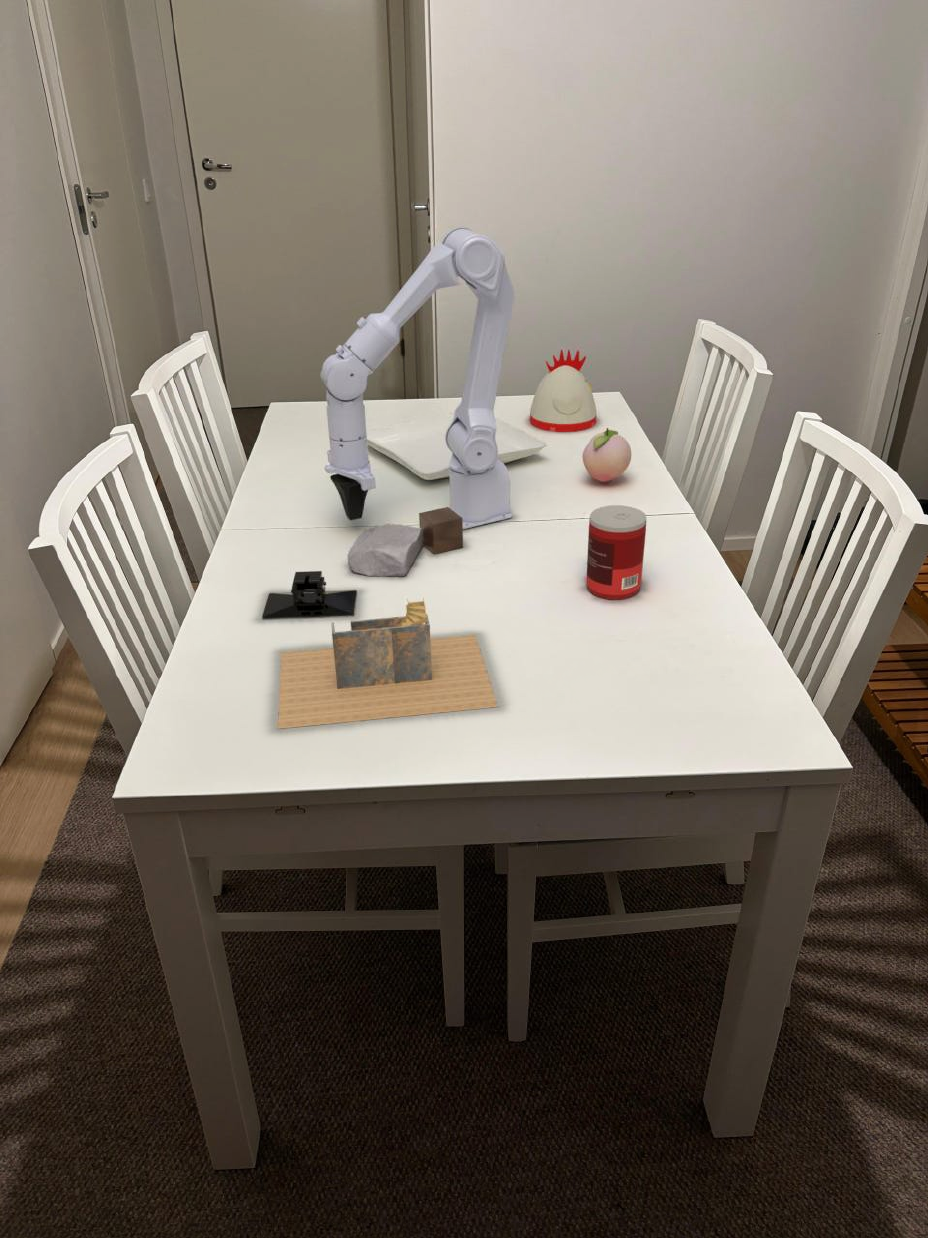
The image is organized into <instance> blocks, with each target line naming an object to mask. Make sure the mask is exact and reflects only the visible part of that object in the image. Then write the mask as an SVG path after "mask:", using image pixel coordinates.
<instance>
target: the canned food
mask: <svg viewBox="0 0 928 1238" xmlns="http://www.w3.org/2000/svg"><path fill="white" fill-rule="evenodd" d="M588 519H589V522H588V540H587V559H586V577H585V579H586V580H585V584H586V586H587V589H588V591H589V592H590V593H591V594H592V595H594V596H596V597H598V598H601V599H605V600H625V599H628V598H630V597H633V596H634V595H636V594H637V593H638V592H639V590H640V588H641V586H642V578H643V577H642V576H643V568H644V567H643V565H644V555H645V546H646V545H645V544H646V533H647V515H646V513H645V512H644V511H642V510H640V509H638V508H637V507H633V506H629V505H623V504H622V505H620V504H614V505H605V506H601V507H598V508H596V509H594V510H592V511H591V512H590V514H589V518H588Z"/></svg>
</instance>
